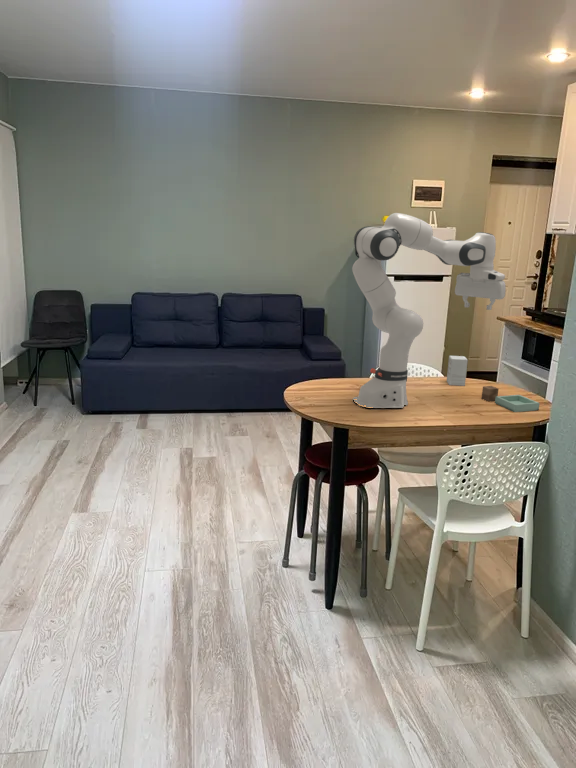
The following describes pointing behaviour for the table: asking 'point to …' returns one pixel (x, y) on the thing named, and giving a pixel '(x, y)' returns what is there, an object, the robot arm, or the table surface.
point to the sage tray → (517, 403)
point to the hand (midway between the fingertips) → (477, 308)
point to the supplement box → (457, 370)
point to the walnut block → (489, 393)
